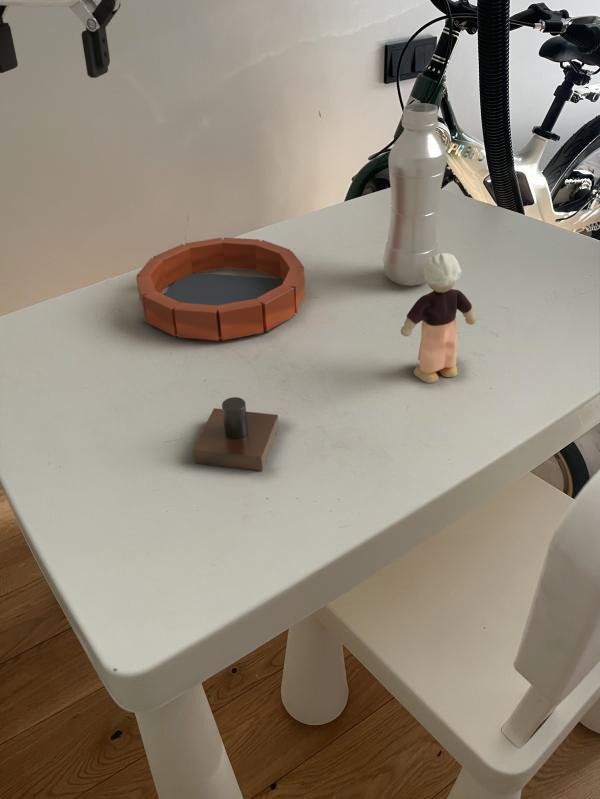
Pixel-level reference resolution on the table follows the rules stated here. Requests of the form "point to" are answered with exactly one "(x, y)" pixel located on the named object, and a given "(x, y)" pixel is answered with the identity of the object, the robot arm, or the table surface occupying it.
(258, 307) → the hoop
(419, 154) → the plastic bottle
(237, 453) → the post
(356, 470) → the table surface
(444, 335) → the grandmother figurine
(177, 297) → the mat
